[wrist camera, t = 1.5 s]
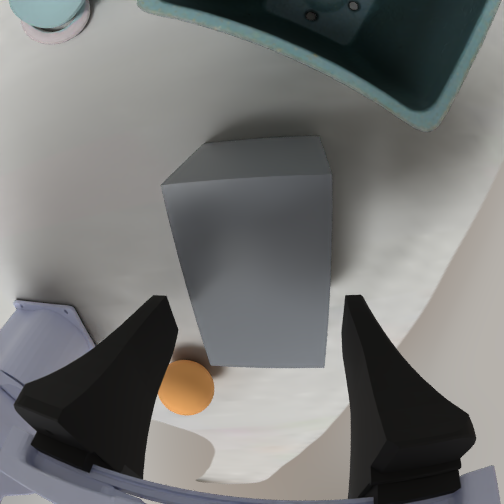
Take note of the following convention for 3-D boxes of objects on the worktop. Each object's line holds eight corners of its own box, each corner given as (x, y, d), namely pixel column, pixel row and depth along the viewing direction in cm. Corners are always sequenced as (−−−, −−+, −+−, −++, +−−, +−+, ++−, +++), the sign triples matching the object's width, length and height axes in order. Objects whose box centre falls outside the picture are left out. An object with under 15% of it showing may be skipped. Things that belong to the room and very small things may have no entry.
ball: (174, 378, 30) (160, 420, 25) (159, 346, 27) (141, 391, 23) (223, 383, 29) (213, 427, 25) (213, 350, 26) (200, 399, 22)
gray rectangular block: (229, 292, 22) (210, 365, 17) (203, 143, 17) (160, 185, 12) (320, 291, 21) (324, 367, 16) (318, 135, 16) (332, 174, 11)
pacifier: (86, 53, 15) (124, -34, 11) (13, 66, 9) (56, -54, 6) (16, 34, 13) (44, -42, 10) (-51, 48, 8) (-23, -47, 5)
